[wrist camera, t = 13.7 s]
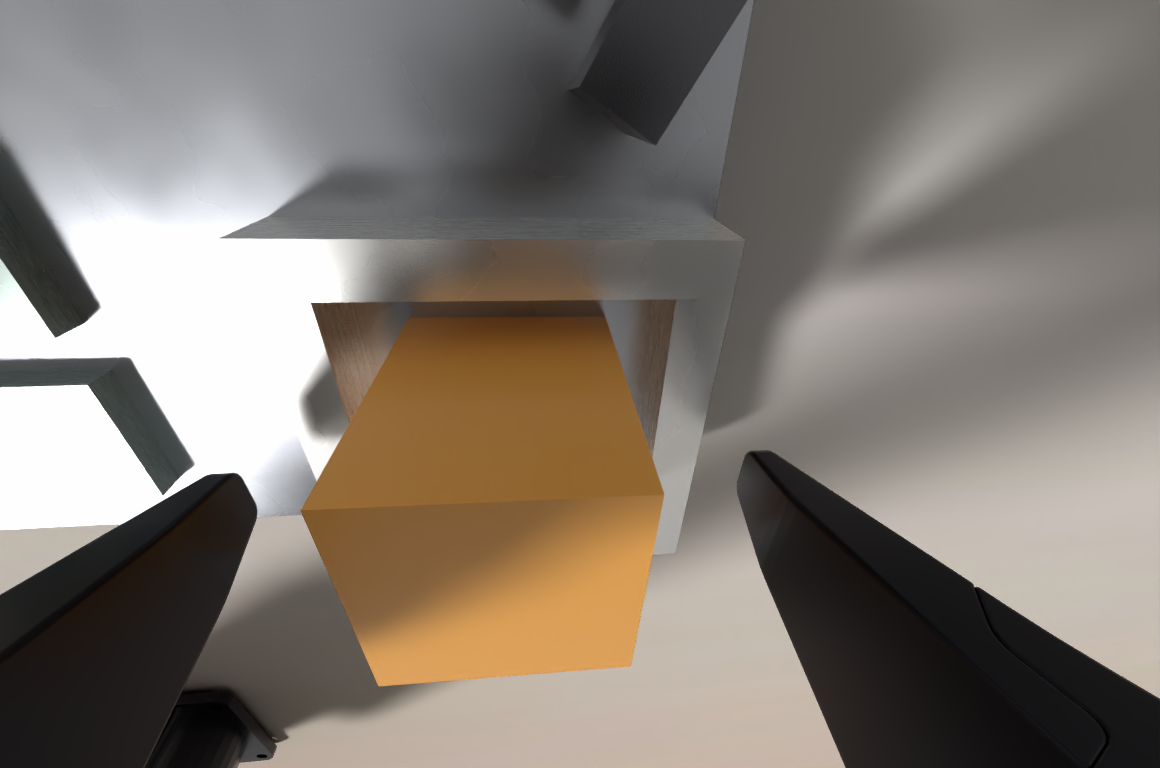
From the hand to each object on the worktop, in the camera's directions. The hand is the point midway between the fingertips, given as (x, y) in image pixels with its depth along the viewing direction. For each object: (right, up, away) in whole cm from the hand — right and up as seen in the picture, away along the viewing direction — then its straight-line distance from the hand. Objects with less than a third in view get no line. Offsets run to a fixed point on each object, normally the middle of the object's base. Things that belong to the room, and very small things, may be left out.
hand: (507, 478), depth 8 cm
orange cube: (0, +1, +2) cm, 3 cm away
